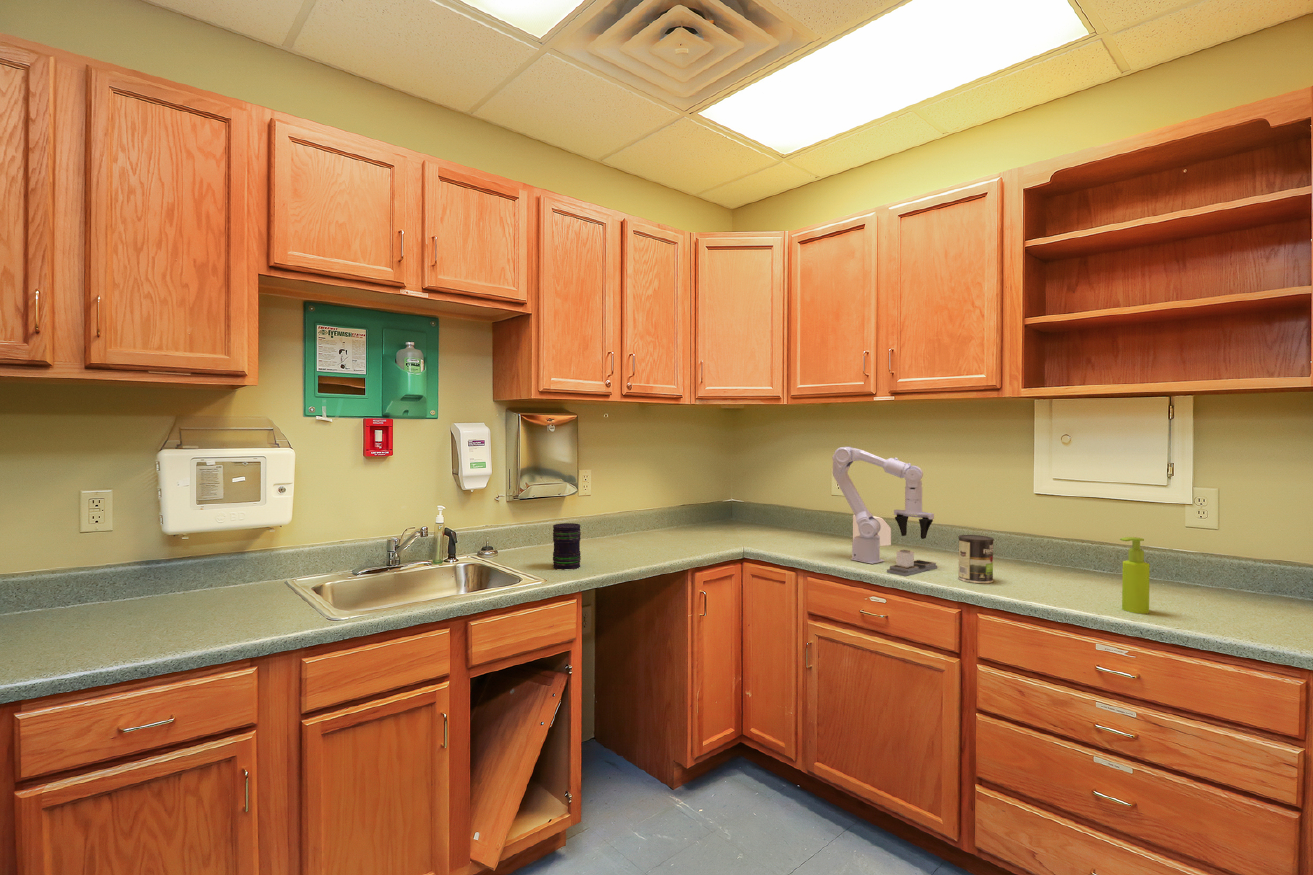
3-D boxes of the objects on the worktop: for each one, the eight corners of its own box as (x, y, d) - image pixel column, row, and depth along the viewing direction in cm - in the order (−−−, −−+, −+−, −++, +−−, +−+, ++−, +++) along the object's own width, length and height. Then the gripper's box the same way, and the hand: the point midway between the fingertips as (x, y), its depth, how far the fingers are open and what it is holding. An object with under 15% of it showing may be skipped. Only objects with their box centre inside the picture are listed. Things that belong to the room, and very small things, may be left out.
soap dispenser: (1113, 607, 174) (1113, 535, 174) (1136, 607, 174) (1137, 535, 174) (1130, 613, 168) (1131, 539, 168) (1154, 613, 168) (1155, 539, 168)
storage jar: (547, 568, 222) (547, 526, 222) (563, 562, 230) (563, 522, 230) (570, 571, 217) (570, 528, 217) (586, 565, 226) (586, 524, 226)
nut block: (896, 568, 217) (896, 550, 217) (903, 567, 219) (903, 548, 219) (907, 570, 214) (907, 552, 214) (913, 569, 216) (913, 550, 216)
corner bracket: (852, 542, 274) (853, 514, 274) (874, 540, 277) (875, 513, 277) (868, 546, 264) (868, 518, 263) (890, 545, 267) (891, 517, 267)
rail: (886, 572, 216) (886, 566, 216) (918, 564, 228) (918, 559, 228) (905, 576, 211) (905, 570, 211) (937, 568, 223) (937, 562, 222)
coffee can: (998, 580, 205) (999, 537, 205) (984, 585, 198) (985, 541, 198) (966, 574, 213) (967, 533, 213) (952, 579, 206) (952, 536, 206)
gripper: (938, 500, 223) (938, 538, 223) (901, 497, 235) (901, 533, 235) (927, 501, 219) (927, 540, 219) (890, 498, 230) (890, 535, 231)
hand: (913, 537), depth 227 cm, fingers open, 7 cm apart
